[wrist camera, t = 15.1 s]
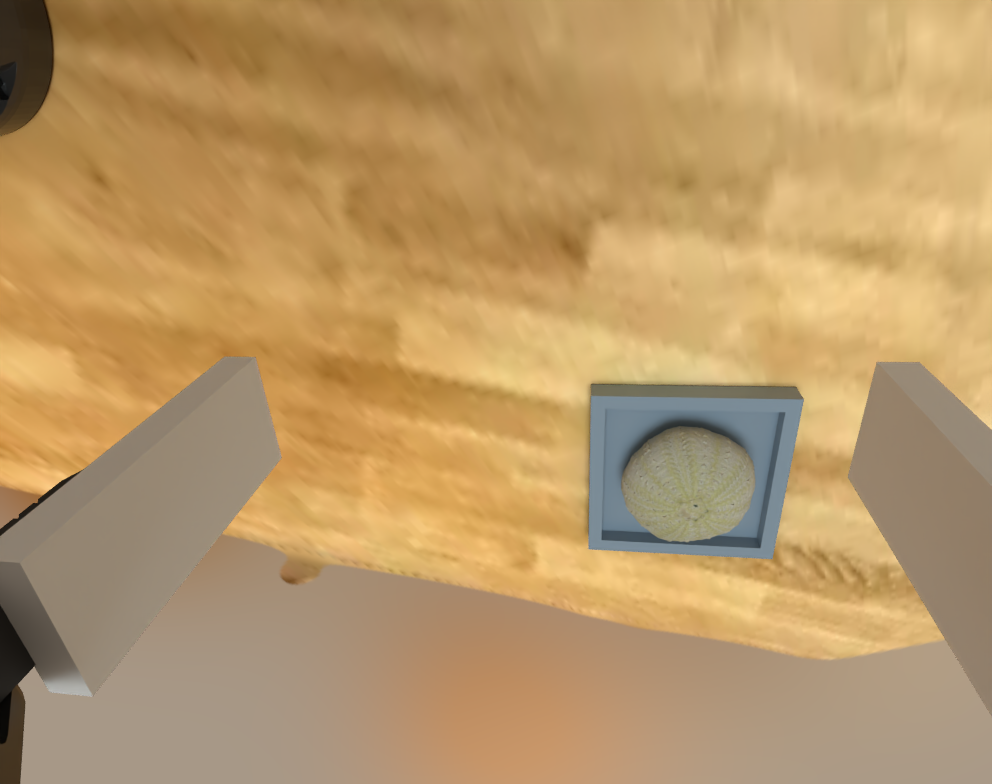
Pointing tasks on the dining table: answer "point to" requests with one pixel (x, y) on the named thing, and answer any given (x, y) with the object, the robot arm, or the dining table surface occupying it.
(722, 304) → the dining table surface
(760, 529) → the tray
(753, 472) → the sea urchin shell
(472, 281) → the dining table surface
